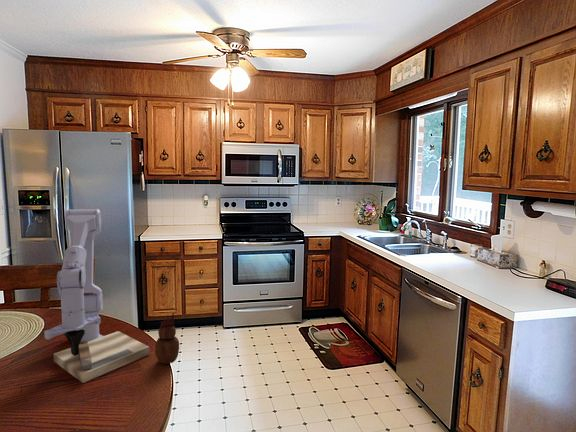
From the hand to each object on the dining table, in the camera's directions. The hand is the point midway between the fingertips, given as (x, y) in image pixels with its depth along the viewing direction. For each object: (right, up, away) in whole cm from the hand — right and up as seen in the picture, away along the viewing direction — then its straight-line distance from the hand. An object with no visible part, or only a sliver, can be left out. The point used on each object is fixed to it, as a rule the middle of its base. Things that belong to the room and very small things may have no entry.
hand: (75, 354), depth 108 cm
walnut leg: (+3, -1, -1) cm, 4 cm away
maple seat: (+6, -3, +5) cm, 8 cm away
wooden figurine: (+26, -4, +4) cm, 26 cm away
